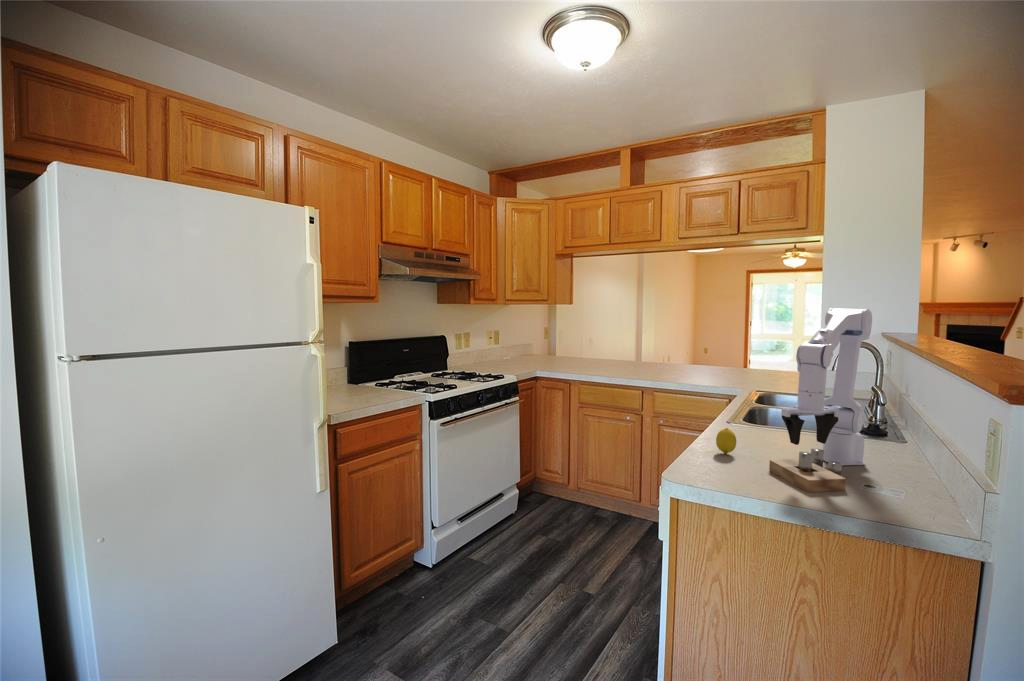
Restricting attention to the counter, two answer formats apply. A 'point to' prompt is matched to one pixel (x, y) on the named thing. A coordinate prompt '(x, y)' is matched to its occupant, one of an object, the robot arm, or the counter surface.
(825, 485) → the hole block
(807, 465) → the pin tall
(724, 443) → the lemon
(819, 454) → the pin medium
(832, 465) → the pin short
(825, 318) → the robot arm
